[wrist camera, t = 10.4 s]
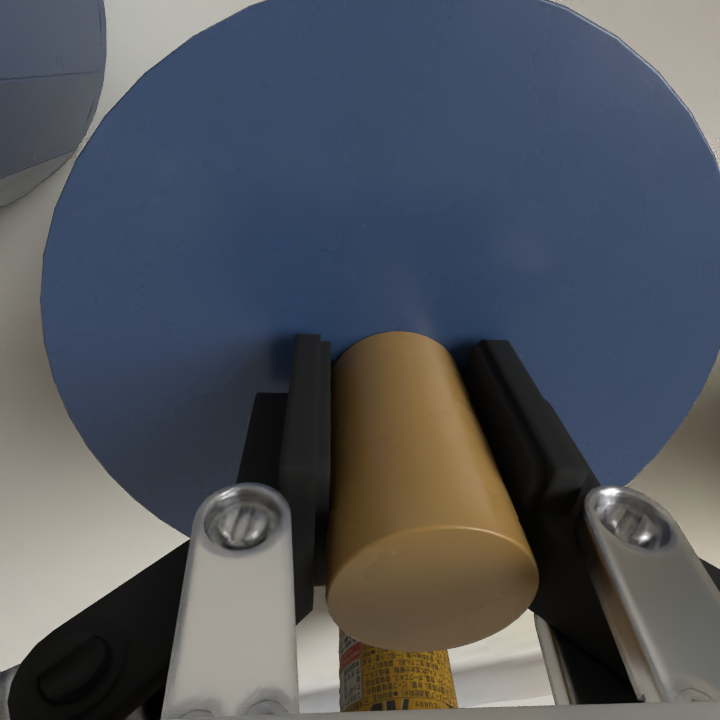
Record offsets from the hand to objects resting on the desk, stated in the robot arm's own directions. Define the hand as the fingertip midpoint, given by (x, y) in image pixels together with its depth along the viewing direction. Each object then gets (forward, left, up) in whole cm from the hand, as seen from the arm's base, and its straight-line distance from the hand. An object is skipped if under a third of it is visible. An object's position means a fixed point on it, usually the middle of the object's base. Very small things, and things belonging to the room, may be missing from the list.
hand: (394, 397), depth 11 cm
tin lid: (0, 0, -1) cm, 1 cm away
